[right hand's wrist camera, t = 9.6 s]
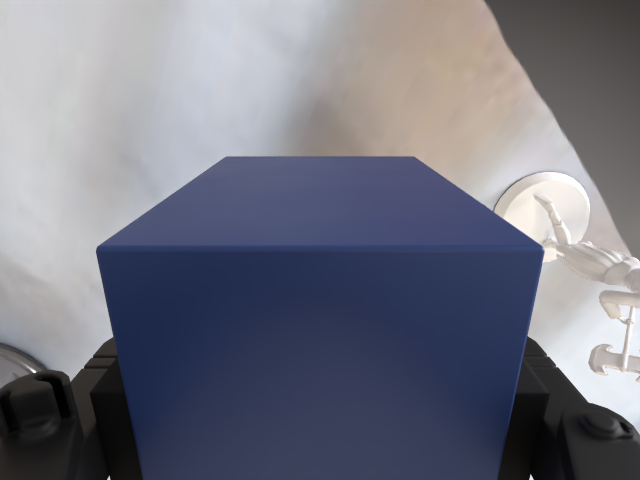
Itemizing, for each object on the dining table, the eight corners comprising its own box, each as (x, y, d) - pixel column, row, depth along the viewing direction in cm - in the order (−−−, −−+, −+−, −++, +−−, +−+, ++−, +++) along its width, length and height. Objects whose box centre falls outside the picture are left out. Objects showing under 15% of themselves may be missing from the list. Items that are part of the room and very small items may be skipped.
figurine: (494, 275, 42) (613, 402, 25) (480, 188, 38) (606, 265, 22) (592, 251, 41) (786, 364, 24) (587, 159, 37) (806, 215, 21)
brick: (399, 349, 19) (475, 594, 10) (240, 349, 19) (165, 594, 10) (415, 156, 16) (548, 246, 7) (224, 156, 16) (92, 247, 7)
